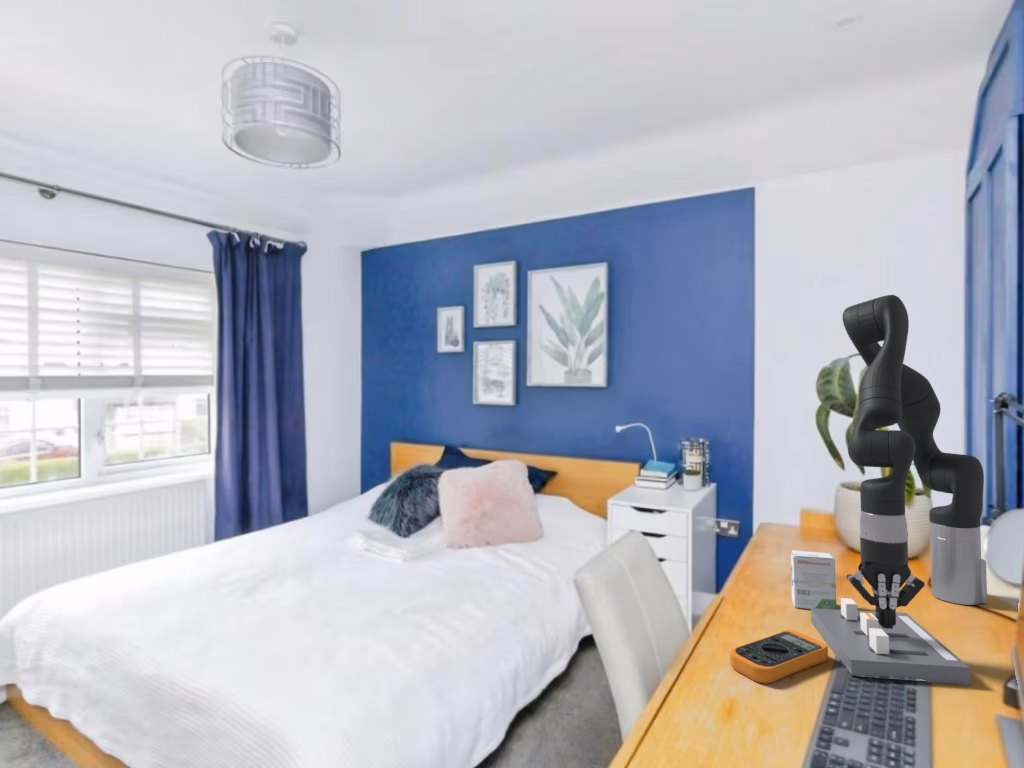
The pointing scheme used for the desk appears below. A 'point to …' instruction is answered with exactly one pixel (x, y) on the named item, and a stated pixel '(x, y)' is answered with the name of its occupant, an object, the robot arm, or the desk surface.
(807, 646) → the multimeter
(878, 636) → the breaker
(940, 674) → the slider switch panel
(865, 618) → the breaker
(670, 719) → the desk surface
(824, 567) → the ink box
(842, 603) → the block
